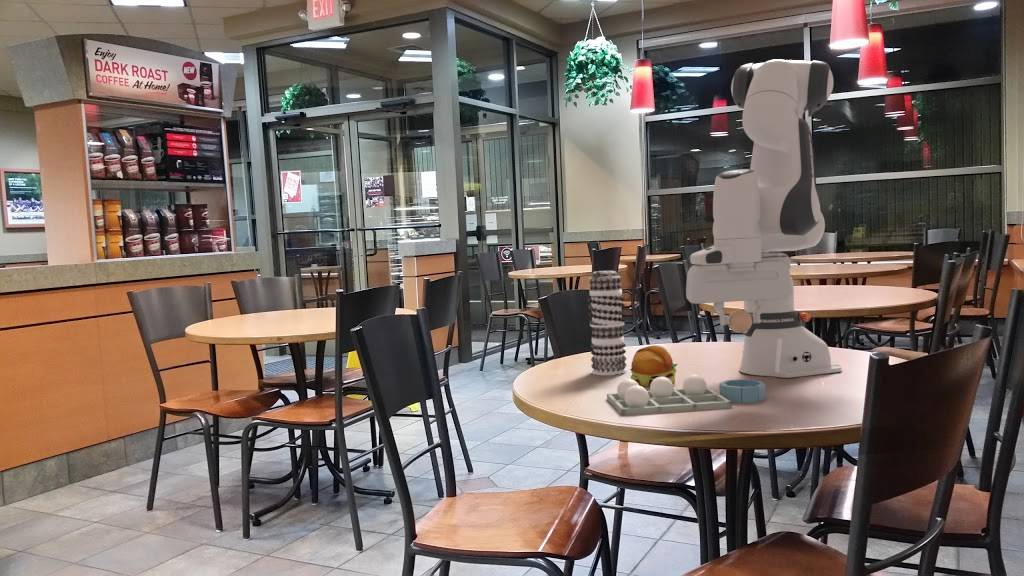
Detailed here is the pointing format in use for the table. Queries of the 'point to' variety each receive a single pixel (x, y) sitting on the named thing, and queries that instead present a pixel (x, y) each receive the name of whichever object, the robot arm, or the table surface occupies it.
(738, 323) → the brown egg
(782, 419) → the table surface
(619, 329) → the black white tall cylinder
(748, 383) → the egg cup
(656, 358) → the cheeseburger
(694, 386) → the egg carton
